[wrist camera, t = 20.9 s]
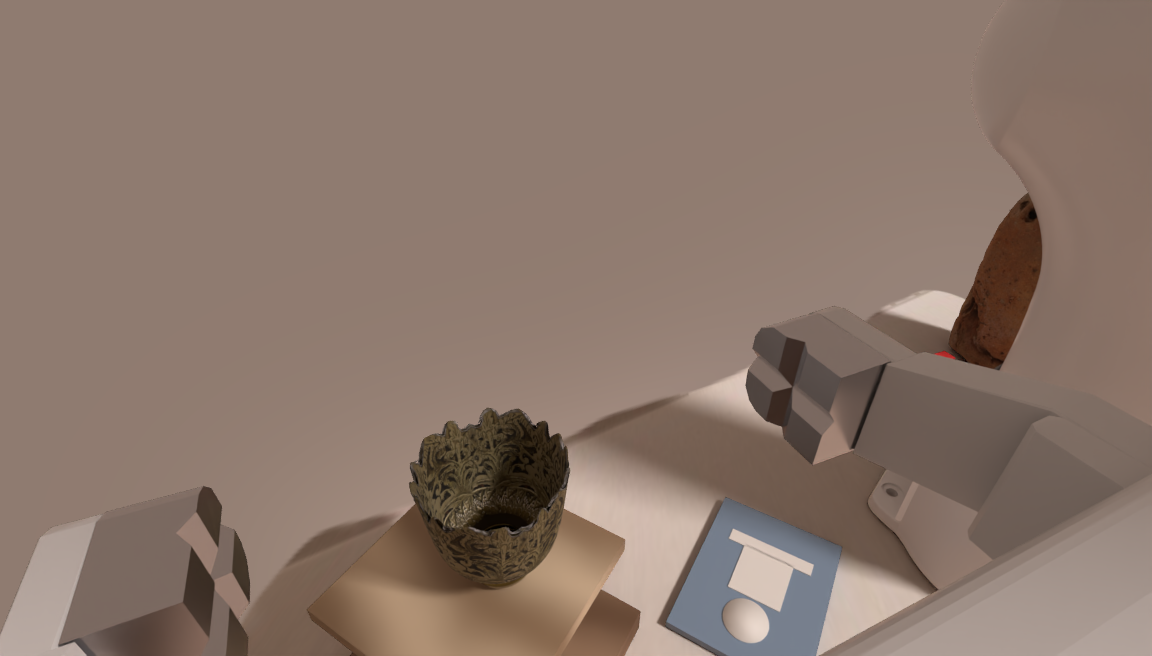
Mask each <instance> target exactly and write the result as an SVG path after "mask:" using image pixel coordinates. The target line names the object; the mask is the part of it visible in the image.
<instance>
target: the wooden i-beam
mask: <svg viewBox="0 0 1152 656" xmlns="http://www.w3.org/2000/svg"><path fill="white" fill-rule="evenodd" d="M624 549H625V539H623V538H621V537H619V536H617V535H615V534H613V533H611V532H609V531H607V530H605V529H603V528H601V527H599V526H597V525H595V524H593V523H591V522H589V521H587V520H585V519H583V518H581V517H579V516H577V515H575V514H573V513H571V512H569V511H567V510H565V509H563V515H562V519H561V524H560V528H559V531H558V535H557V537H556V540H555V542H554V545H553V547H552V548H551V550H550V552H549V553H548V555H547V556H546V558H545V559H544V560H543V561H542V562H541V563H540V565H538V566H537V567H536V568H535V569H534V570H533V571H531V572H530V573H528V574H527V575H526V576H525V578H524V579H523V580H521V581H520V582H519V583H517V584H515V585H513V586H511V587H508V588H503V589H494V588H490V587H487V586H484V585H483V584H481V583H478V582H474V581H471V580H469V579H466V578H465V577H463V576H461V575H459V574H458V573H457V572H455V571H454V570H453V569H452V568H451V567H450V566H449V565H448V564H447V563H446V562H445V561H444V559H443V558H442V557H441V555H440V554H439V552H438V550H437V549H436V547H435V545H434V543H433V541H432V539H431V537H430V535H429V533H428V530H427V528H426V526H425V523H424V521H423V519H422V516H421V514H420V512H419V509H418V507H417V505H416V504H415V505H414V506H413V507H412V508H411V509H410V510H409V511H408V512H407V513H406V514H404V515H403V516H402V517H401V518H400V519H399V520H398V521H397V522H396V523H395V524H394V525H393V526H392V527H391V528H390V529H389V530H388V531H387V532H386V533H385V534H384V535H383V536H382V537H381V538H380V539H379V540H378V541H377V542H376V543H375V544H374V545H373V546H372V547H371V548H370V549H369V550H368V551H366V552H365V553H364V554H363V555H362V556H361V557H360V558H359V559H358V560H357V561H356V562H355V563H354V564H353V565H352V566H351V567H350V568H349V569H348V570H347V571H346V572H345V573H344V574H343V575H342V576H341V577H340V578H339V579H338V580H337V581H336V582H335V583H334V584H333V585H332V586H331V587H329V588H328V589H327V590H326V591H325V592H324V593H323V594H322V595H321V596H320V597H319V598H318V599H317V600H316V601H315V602H314V603H313V604H312V605H311V606H310V607H309V608H308V609H307V611H308V613H309V615H310V617H311V619H312V621H313V622H315V623H316V624H317V625H319V626H320V627H321V628H322V629H324V630H325V631H326V632H328V633H329V634H330V635H331V636H333V637H334V638H335V639H337V640H338V641H339V642H340V643H342V644H343V645H344V646H346V647H347V648H348V649H349V650H351V651H352V652H353V653H352V654H351V655H350V656H624V655H625V653H626V651H627V649H628V647H629V646H630V644H631V642H632V640H633V638H634V636H635V634H636V632H637V630H638V628H639V620H640V611H639V610H637V609H636V608H634V607H632V606H630V605H628V604H627V603H625V602H623V601H621V600H619V599H618V598H616V597H614V596H612V595H610V594H609V593H607V592H605V591H603V590H601V588H602V587H603V585H604V583H605V582H606V580H607V578H608V577H609V575H610V573H611V572H612V570H613V568H614V567H615V565H616V563H617V562H618V560H619V558H620V557H621V555H622V553H623V552H624Z"/></svg>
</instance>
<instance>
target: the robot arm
mask: <svg viewBox="0 0 1152 656" xmlns="http://www.w3.org/2000/svg"><path fill="white" fill-rule="evenodd" d="M971 94H972V104H973V109H974V113H975V117H976V119H977V122H978V125H979V127H980V129H981V131H982V133H983V134H984V136H985V138H986V139H987V141H988V142H989V144H990V145H991V146H992V147H993V148H994V149H995V150H996V151H997V152H998V153H999V154H1000V155H1001V156H1002V157H1003V158H1004V159H1005V160H1006V161H1007V163H1008V164H1009V165H1010V166H1011V167H1012V169H1013V170H1014V171H1015V172H1016V174H1017V175H1018V176H1019V178H1020V179H1021V181H1022V183H1023V184H1024V186H1025V188H1026V190H1027V191H1028V194H1029V196H1030V198H1031V200H1032V202H1033V205H1034V208H1035V211H1036V213H1037V217H1038V221H1039V225H1040V231H1041V238H1042V264H1041V271H1040V275H1039V280H1038V283H1037V286H1036V289H1035V292H1034V294H1033V297H1032V300H1031V302H1030V305H1029V308H1028V310H1027V313H1026V315H1025V318H1024V320H1023V322H1022V325H1021V327H1020V330H1019V332H1018V334H1017V336H1016V338H1015V340H1014V343H1013V345H1012V347H1011V349H1010V351H1009V353H1008V355H1007V357H1006V359H1005V361H1004V363H1003V364H1001V365H999V366H997V367H996V368H995V369H991V368H987V367H983V366H979V365H975V364H971V363H967V362H963V361H959V360H955V359H951V358H947V357H943V356H939V355H935V354H931V353H927V352H921V353H918V354H917V353H915V352H914V351H912V350H910V349H909V348H907V347H906V346H904V345H902V344H901V343H899V342H897V341H896V340H894V339H893V338H891V337H889V336H888V335H886V334H885V333H883V332H881V331H880V330H878V329H877V328H875V327H873V326H872V325H870V324H869V323H867V322H865V321H864V320H862V319H860V318H859V317H857V316H856V315H854V314H852V313H851V312H849V311H847V310H846V309H844V308H839V307H835V306H832V307H829V308H826V309H822V310H819V311H816V312H813V313H810V314H808V315H804V316H800V317H798V318H794V319H790V320H787V321H783V322H780V323H777V324H773V325H770V326H766V327H763V328H761V329H760V331H759V332H758V333H757V335H756V336H755V340H754V344H753V350H754V352H755V354H756V355H757V358H756V360H755V361H754V362H753V364H752V365H751V366H750V368H749V369H748V373H747V379H746V389H747V393H748V397H749V401H750V402H751V404H752V406H753V407H754V409H755V410H756V412H757V413H758V414H759V415H760V416H761V417H762V418H763V419H764V420H765V421H767V422H770V423H773V424H775V425H778V426H781V427H782V429H783V436H784V439H785V440H786V441H787V442H788V443H789V444H790V445H791V446H793V447H794V448H795V449H796V450H797V451H798V452H799V453H800V454H801V455H802V456H803V457H804V458H805V459H806V460H807V461H808V462H809V463H810V464H812V465H815V464H818V463H820V462H823V461H826V460H829V459H831V458H834V457H837V456H840V455H842V454H845V453H848V452H851V451H853V450H854V452H853V454H856V455H858V456H860V457H862V458H864V459H866V460H868V461H870V462H873V463H875V464H877V465H879V466H881V467H883V468H885V469H886V470H885V472H884V473H883V475H882V477H881V478H880V480H879V482H878V484H877V485H876V487H875V489H874V490H873V492H872V494H871V495H870V497H869V499H868V505H869V507H870V509H871V510H872V512H873V513H874V514H875V515H876V516H877V517H878V518H879V519H880V520H881V521H882V522H883V523H884V524H885V525H887V526H888V527H889V528H890V529H891V530H892V531H893V532H894V533H896V535H897V536H898V537H899V539H900V540H901V541H902V543H903V545H904V546H905V548H906V550H907V551H908V553H909V555H910V556H911V558H912V559H913V561H914V562H915V564H916V565H917V566H918V568H919V569H920V570H921V572H922V573H923V574H924V575H925V576H926V578H927V579H928V580H929V581H930V582H931V583H932V584H933V585H934V586H935V587H936V588H937V589H938V591H936V592H934V593H932V594H930V595H929V596H927V597H925V598H923V599H921V600H919V601H918V602H916V603H914V604H912V605H910V606H908V607H907V608H905V609H903V610H901V611H899V612H898V613H896V614H894V615H892V616H890V617H888V618H887V619H885V620H883V621H881V622H879V623H877V624H876V625H874V626H872V627H870V628H868V629H866V630H865V631H863V632H861V633H859V634H857V635H856V636H854V637H852V638H850V639H848V640H846V641H845V642H843V643H841V644H839V645H837V646H835V647H834V648H832V649H830V650H828V651H826V652H824V653H823V654H821V655H819V656H1152V0H1005V1H1004V2H1003V3H1002V4H1001V6H1000V7H999V9H998V10H997V12H996V14H995V15H994V16H993V18H992V20H991V21H990V23H989V25H988V27H987V29H986V31H985V33H984V35H983V37H982V40H981V42H980V45H979V48H978V51H977V54H976V57H975V60H974V66H973V71H972V81H971ZM888 494H889V495H888ZM890 495H891V496H890ZM221 511H222V506H221V504H220V502H219V500H218V499H217V497H216V495H215V494H214V492H213V490H212V489H211V488H209V487H205V486H203V487H199V488H195V489H191V490H188V491H184V492H180V493H176V494H172V495H168V496H165V497H161V498H157V499H153V500H150V501H146V502H142V503H138V504H134V505H130V506H127V507H123V508H120V509H115V510H111V511H108V512H105V513H104V514H100V515H96V516H92V517H88V518H85V519H81V520H77V521H73V522H70V523H65V524H61V525H58V526H54V527H51V528H50V529H49V530H48V531H47V532H46V533H44V534H43V535H42V536H41V537H40V538H39V540H38V542H37V544H36V547H35V549H34V552H33V554H32V556H31V559H30V561H29V564H28V566H27V569H26V571H25V574H24V576H23V579H22V581H21V583H20V586H19V588H18V591H17V593H16V596H15V598H14V601H13V603H12V606H11V608H10V610H9V613H8V615H7V618H6V620H5V623H4V625H3V628H2V630H1V633H0V656H247V652H248V636H247V634H246V633H245V631H244V629H243V628H242V626H241V624H240V623H239V621H238V619H239V618H240V616H241V615H242V613H243V612H244V610H245V609H246V607H247V606H248V604H249V602H250V579H249V573H248V565H247V559H246V556H245V552H244V550H243V547H242V543H241V541H240V539H239V537H238V535H237V533H236V531H235V530H234V529H231V528H229V527H226V526H223V525H221V524H220V522H221Z"/></svg>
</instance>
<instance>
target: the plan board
mask: <svg viewBox="0 0 1152 656" xmlns="http://www.w3.org/2000/svg"><path fill="white" fill-rule="evenodd" d="M841 551H842V547H841V546H839V545H837V544H834V543H832V542H830V541H827V540H825V539H823V538H820V537H818V536H816V535H813V534H811V533H809V532H806V531H804V530H802V529H799V528H797V527H795V526H792V525H790V524H788V523H785V522H783V521H781V520H778V519H776V518H774V517H771V516H769V515H767V514H764V513H762V512H760V511H757V510H755V509H753V508H750V507H748V506H746V505H743V504H741V503H739V502H736V501H734V500H732V499H729V498H727V497H725V499H724V501H723V504H722V506H721V508H720V510H719V512H718V514H717V516H716V518H715V520H714V522H713V525H712V527H711V529H710V531H709V533H708V535H707V537H706V539H705V541H704V543H703V545H702V548H701V550H700V552H699V554H698V556H697V558H696V560H695V562H694V564H693V566H692V569H691V571H690V573H689V575H688V577H687V579H686V581H685V583H684V585H683V587H682V589H681V592H680V594H679V596H678V598H677V600H676V602H675V604H674V606H673V608H672V610H671V612H670V615H669V617H668V619H667V621H666V627H667V628H669V629H671V630H673V631H675V632H676V633H678V634H680V635H682V636H684V637H685V638H687V639H689V640H691V641H693V642H694V643H696V644H698V645H700V646H702V647H703V648H705V649H707V650H709V651H711V652H712V653H714V654H716V655H718V656H816V653H817V649H818V645H819V641H820V637H821V633H822V629H823V624H824V620H825V616H826V612H827V608H828V604H829V600H830V596H831V592H832V587H833V583H834V579H835V575H836V571H837V567H838V563H839V559H840V555H841Z"/></svg>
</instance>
